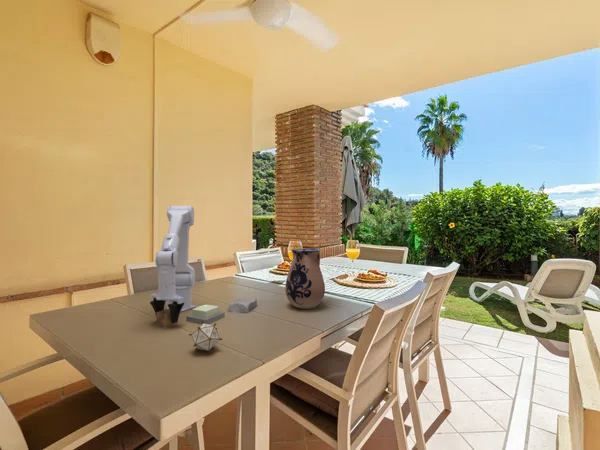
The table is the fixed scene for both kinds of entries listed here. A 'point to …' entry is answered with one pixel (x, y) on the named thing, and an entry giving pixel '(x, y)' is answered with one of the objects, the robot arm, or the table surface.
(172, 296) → the robot arm
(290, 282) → the ceramic pitcher
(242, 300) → the stone block
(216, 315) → the grey square slab
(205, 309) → the sage block
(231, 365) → the table surface
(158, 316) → the walnut cube
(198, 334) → the game die
